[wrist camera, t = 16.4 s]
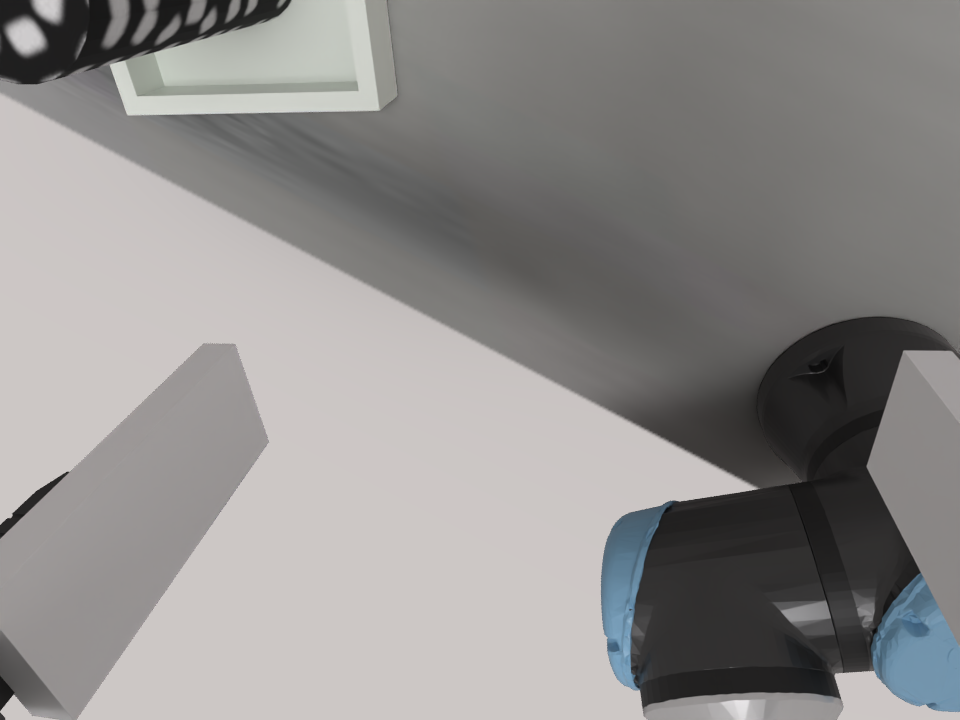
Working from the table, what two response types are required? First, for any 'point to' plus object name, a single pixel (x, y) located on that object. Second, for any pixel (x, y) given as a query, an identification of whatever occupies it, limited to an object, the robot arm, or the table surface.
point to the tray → (272, 65)
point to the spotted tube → (110, 31)
